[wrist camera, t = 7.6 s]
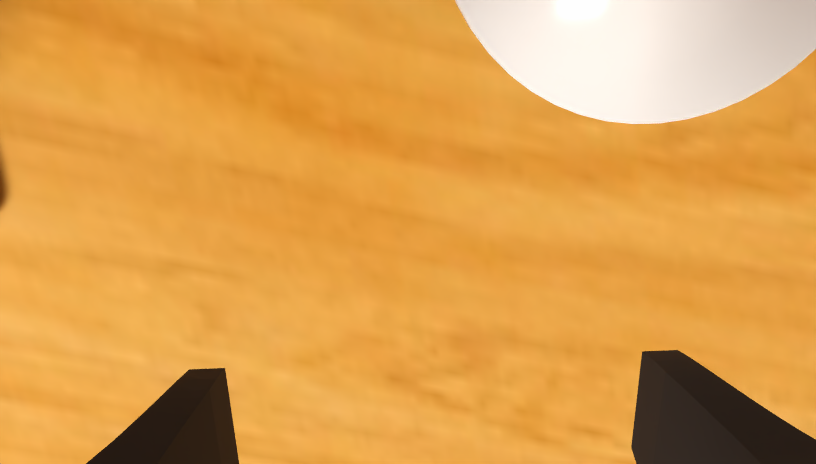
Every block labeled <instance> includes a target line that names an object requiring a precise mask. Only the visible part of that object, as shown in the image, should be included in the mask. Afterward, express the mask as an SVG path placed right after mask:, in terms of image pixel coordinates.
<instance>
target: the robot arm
mask: <svg viewBox="0 0 816 464" xmlns="http://www.w3.org/2000/svg"><path fill="white" fill-rule="evenodd" d="M632 451H633V454H634V457H635V460H636V464H816V440H815V439H814V438H812V437H810V436H809V435H807V434H805V433H803V432H802V431H800V430H798V429H797V428H795V427H794V426H792V425H790V424H789V423H787V422H786V421H784V420H782V419H781V418H779V417H778V416H776V415H775V414H773V413H772V412H770V411H768V410H767V409H765V408H764V407H762V406H761V405H759V404H758V403H756V402H755V401H753V400H752V399H750V398H749V397H747V396H746V395H744V394H743V393H741V392H740V391H738V390H737V389H736V388H734V387H733V386H731V385H730V384H728V383H727V382H725V381H724V380H722V379H721V378H719V377H718V376H717V375H715V374H714V373H712V372H711V371H709V370H708V369H706V368H705V367H703V366H702V365H700V364H699V363H697V362H696V361H694V360H693V359H691V358H690V357H688V356H687V355H685V354H683V353H681V352H680V351H678V350H669V351H644V352H642V359H641V368H640V377H639V385H638V394H637V403H636V412H635V421H634V429H633V438H632ZM86 464H239V460H238V453H237V446H236V440H235V433H234V426H233V419H232V413H231V406H230V399H229V392H228V386H227V379H226V372H225V368H217V369H192V370H188V371H187V372H186V373H185V374H184V375H183V376H182V377H181V378H180V379H179V380H177V381H176V382H175V383H174V384H173V385H172V386H171V387H170V388H169V389H168V390H167V391H166V392H165V393H164V394H163V395H162V396H161V397H160V398H159V399H158V400H157V401H156V402H155V403H154V404H153V405H152V406H150V407H149V408H148V409H147V410H146V411H145V412H144V413H143V414H142V415H141V416H140V417H139V418H138V419H137V420H135V421H134V422H133V423H132V424H131V425H130V426H129V427H128V428H127V429H126V430H125V431H124V432H123V433H121V434H120V435H119V436H118V437H117V438H116V439H115V440H114V441H112V442H111V443H110V444H109V445H108V446H107V447H105V448H104V449H103V450H102V451H101V452H99V453H98V454H97V455H96V456H95V457H93V458H92V459H91V460H90V461H89V462H88V463H86Z"/></svg>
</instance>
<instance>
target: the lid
mask: <svg viewBox="0 0 816 464" xmlns="http://www.w3.org/2000/svg"><path fill="white" fill-rule="evenodd" d="M455 2H456V4H457V6H458V8H459V10H460V11H461V13H462V15H463V17H464V19H465V21H466V22H467V24H468V26H469V28H470V29H471V30H472V32H473V33H474V34H475V36H476V37H477V38H478V40H479V41H480V42H481V44H482V45H483V46H484V48H485V49H486V50H487V52H488V53H489V54H490V55H491V56H492V57H493V58H494V59H495V60H496V61H497V62H498V63H499V64H500V65H501V66H502V67H503V68H504V69H505V71H506V72H507V73H508V74H509V75H511V76H512V77H513V78H515V79H516V80H517V81H518V82H520V83H521V84H522V85H524V86H525V87H526V88H528V89H529V90H530V91H531V92H533V93H535V94H537V95H539V96H540V97H542V98H544V99H546V100H547V101H549V102H551V103H553V104H554V105H557V106H559V107H562V108H564V109H567V110H569V111H572V112H574V113H577V114H579V115H583V116H587V117H591V118H596V119H600V120H604V121H610V122H620V123H629V124H648V123H665V122H671V121H678V120H684V119H690V118H693V117H697V116H700V115H704V114H707V113H711V112H715V111H717V110H720V109H722V108H725V107H727V106H729V105H732V104H734V103H737V102H739V101H742V100H744V99H745V98H747V97H749V96H751V95H753V94H755V93H756V92H758V91H760V90H762V89H764V88H765V87H767V86H769V85H770V84H772V83H773V82H775V81H776V80H778V79H779V78H780V77H782V76H783V75H785V74H786V73H788V72H789V71H790V70H792V69H793V68H795V67H796V66H797V65H798V64H799V63H800V62H801V61H803V60H804V59H805V58H806V57H807V56H808V55H809V54H811V53H812V52H813V51H814V50H815V49H816V0H455Z"/></svg>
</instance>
